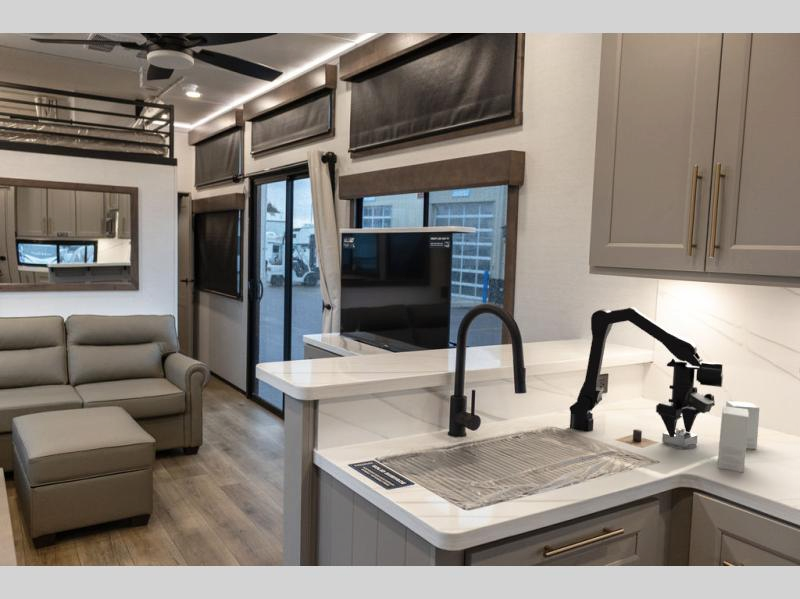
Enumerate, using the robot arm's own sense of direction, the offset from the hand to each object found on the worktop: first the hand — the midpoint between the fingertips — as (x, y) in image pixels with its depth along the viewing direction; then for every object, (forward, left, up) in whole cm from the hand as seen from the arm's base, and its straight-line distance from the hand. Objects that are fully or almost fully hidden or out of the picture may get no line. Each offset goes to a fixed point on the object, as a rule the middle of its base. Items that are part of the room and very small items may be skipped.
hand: (679, 434), depth 188 cm
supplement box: (+9, +19, -4) cm, 21 cm away
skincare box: (+17, -4, -4) cm, 18 cm away
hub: (0, 0, -4) cm, 4 cm away
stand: (-9, -8, -4) cm, 13 cm away
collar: (0, 0, -2) cm, 2 cm away
